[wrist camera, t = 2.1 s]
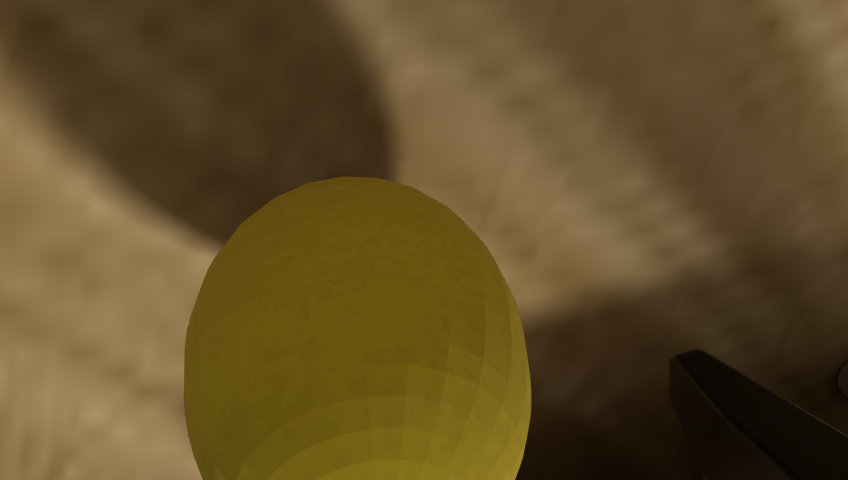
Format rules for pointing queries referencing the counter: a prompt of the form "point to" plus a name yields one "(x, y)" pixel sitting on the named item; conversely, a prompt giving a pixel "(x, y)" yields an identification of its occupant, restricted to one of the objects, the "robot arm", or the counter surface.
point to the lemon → (356, 344)
